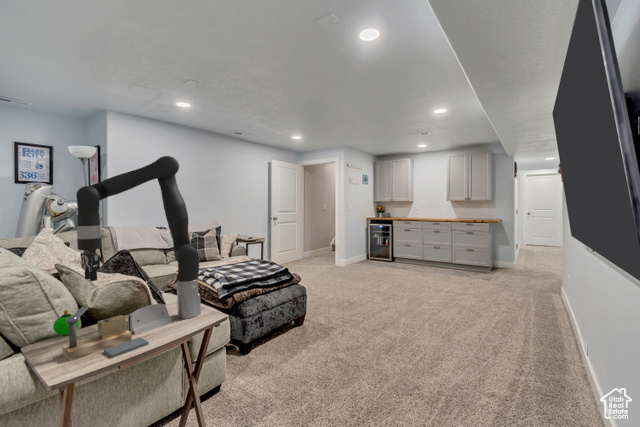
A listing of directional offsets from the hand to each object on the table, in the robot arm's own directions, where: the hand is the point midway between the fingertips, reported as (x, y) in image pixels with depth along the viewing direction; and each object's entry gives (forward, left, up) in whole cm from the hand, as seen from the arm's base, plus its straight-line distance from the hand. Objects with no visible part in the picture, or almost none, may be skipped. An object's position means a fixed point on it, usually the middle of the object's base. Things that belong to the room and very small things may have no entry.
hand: (90, 279), depth 117 cm
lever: (+6, +6, -11) cm, 14 cm away
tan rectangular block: (-3, +11, -20) cm, 23 cm away
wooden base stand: (+2, +11, -23) cm, 26 cm away
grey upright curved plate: (-19, +6, -24) cm, 31 cm away
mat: (-4, +21, -23) cm, 32 cm away
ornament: (+5, -13, -24) cm, 27 cm away
